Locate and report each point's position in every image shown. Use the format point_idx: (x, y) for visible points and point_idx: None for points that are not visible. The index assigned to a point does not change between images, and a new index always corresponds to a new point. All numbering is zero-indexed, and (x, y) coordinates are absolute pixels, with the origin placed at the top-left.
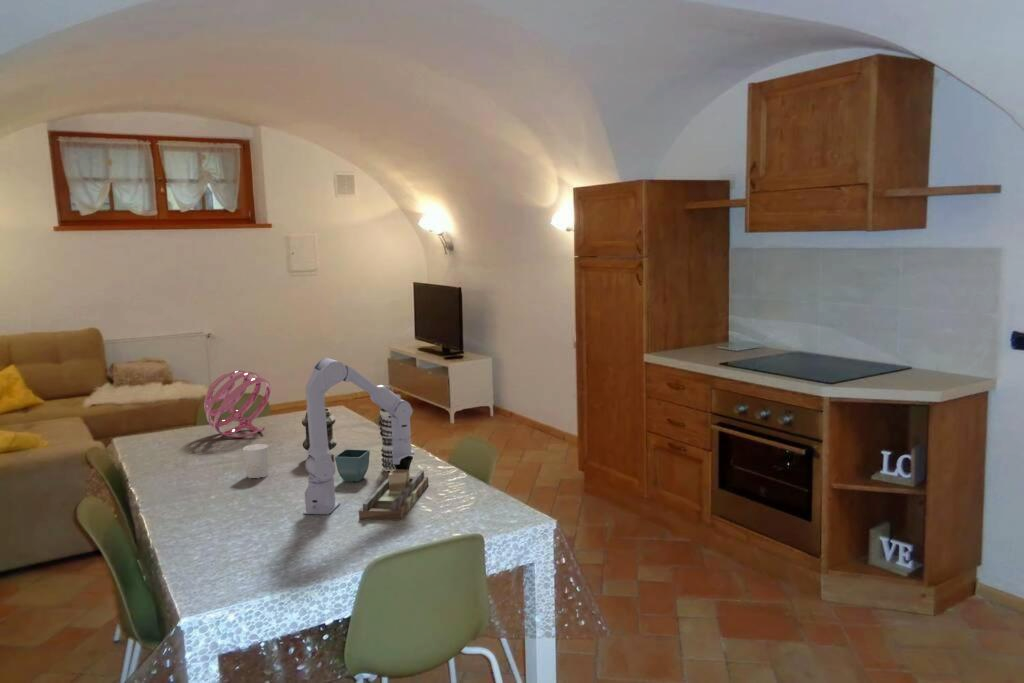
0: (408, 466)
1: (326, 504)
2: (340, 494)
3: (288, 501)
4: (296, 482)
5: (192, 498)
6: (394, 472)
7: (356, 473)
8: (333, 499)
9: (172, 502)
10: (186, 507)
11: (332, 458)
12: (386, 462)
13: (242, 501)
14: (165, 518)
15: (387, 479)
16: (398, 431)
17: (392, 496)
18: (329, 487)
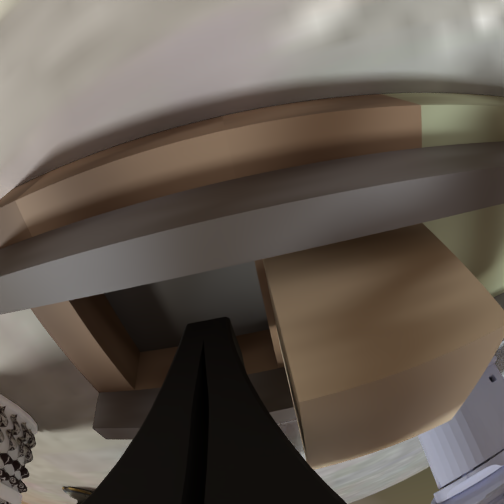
0: (224, 454)
1: (498, 383)
2: None
3: (373, 456)
4: None
5: (345, 497)
6: (408, 428)
7: None
8: (468, 399)
9: (360, 495)
10: (382, 483)
11: (77, 489)
12: (27, 450)
13: (364, 478)
14: (420, 469)
15: None
16: None
17: (501, 242)
18: (497, 430)
